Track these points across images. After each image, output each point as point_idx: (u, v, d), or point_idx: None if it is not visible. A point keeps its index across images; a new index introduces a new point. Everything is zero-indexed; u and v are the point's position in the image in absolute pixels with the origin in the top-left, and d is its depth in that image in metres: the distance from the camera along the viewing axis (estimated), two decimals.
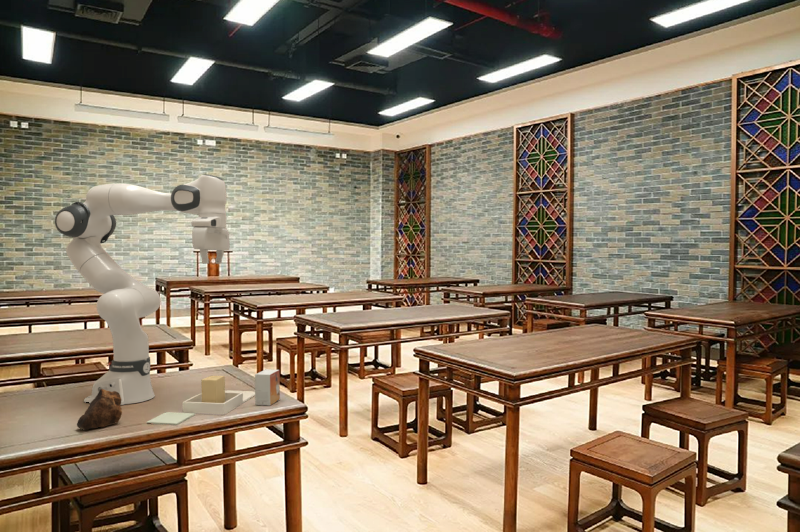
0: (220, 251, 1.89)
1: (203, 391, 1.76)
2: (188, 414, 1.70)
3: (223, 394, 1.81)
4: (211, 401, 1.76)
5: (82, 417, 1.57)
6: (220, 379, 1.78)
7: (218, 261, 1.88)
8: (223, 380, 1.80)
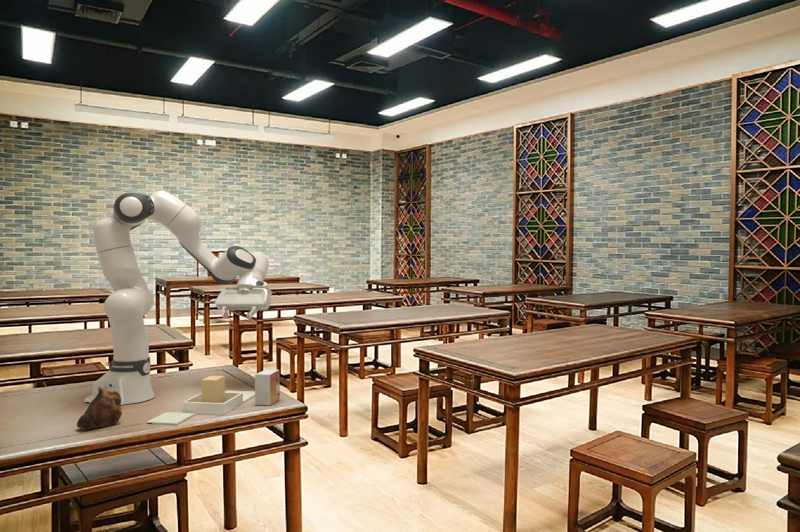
0: (227, 309, 1.99)
1: (203, 391, 1.76)
2: (188, 414, 1.70)
3: (223, 394, 1.81)
4: (211, 401, 1.76)
5: (82, 417, 1.57)
6: (220, 379, 1.78)
7: (227, 316, 1.96)
8: (223, 380, 1.80)
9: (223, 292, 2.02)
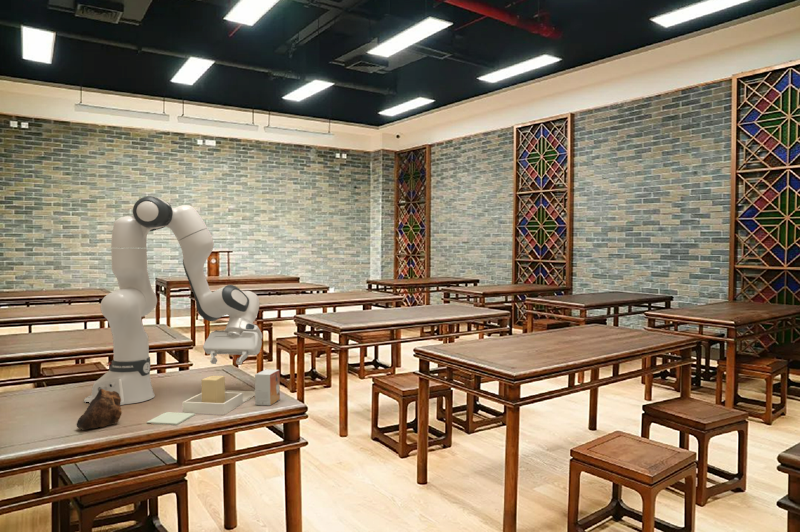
0: (216, 353, 1.91)
1: (203, 391, 1.76)
2: (188, 414, 1.70)
3: (223, 394, 1.81)
4: (211, 401, 1.76)
5: (82, 417, 1.57)
6: (220, 379, 1.78)
7: (215, 361, 1.88)
8: (223, 380, 1.80)
9: (212, 335, 1.94)
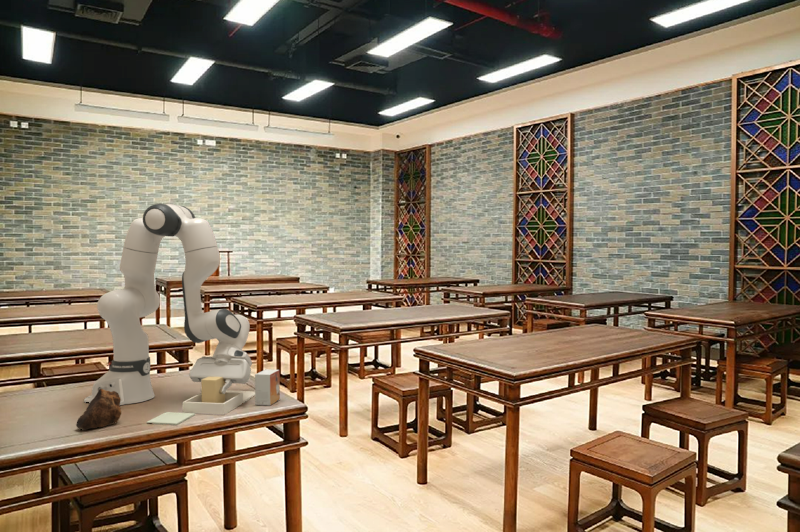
0: None
1: (203, 391, 1.76)
2: (188, 414, 1.70)
3: (223, 394, 1.81)
4: (211, 401, 1.76)
5: (81, 417, 1.57)
6: (220, 379, 1.78)
7: None
8: (223, 380, 1.80)
9: (199, 362, 1.85)
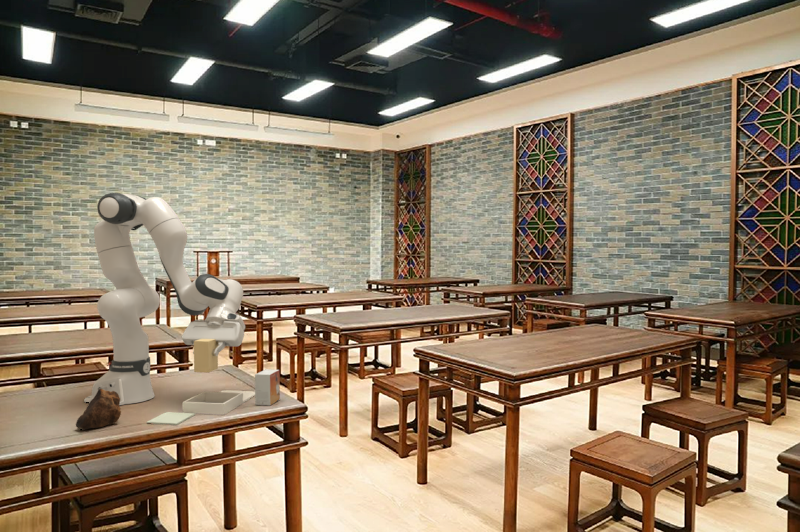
0: None
1: (195, 352, 1.74)
2: (188, 414, 1.70)
3: (216, 357, 1.78)
4: (204, 363, 1.74)
5: (81, 417, 1.57)
6: (213, 341, 1.76)
7: None
8: (216, 343, 1.78)
9: (191, 325, 1.83)
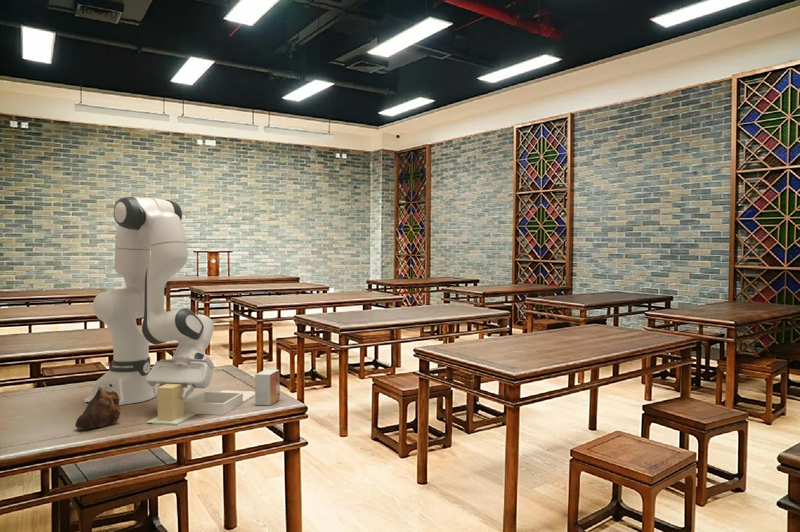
0: None
1: (159, 400, 1.64)
2: (188, 414, 1.70)
3: (182, 403, 1.69)
4: (168, 411, 1.64)
5: (81, 417, 1.57)
6: (178, 387, 1.67)
7: None
8: (182, 388, 1.69)
9: (156, 365, 1.74)
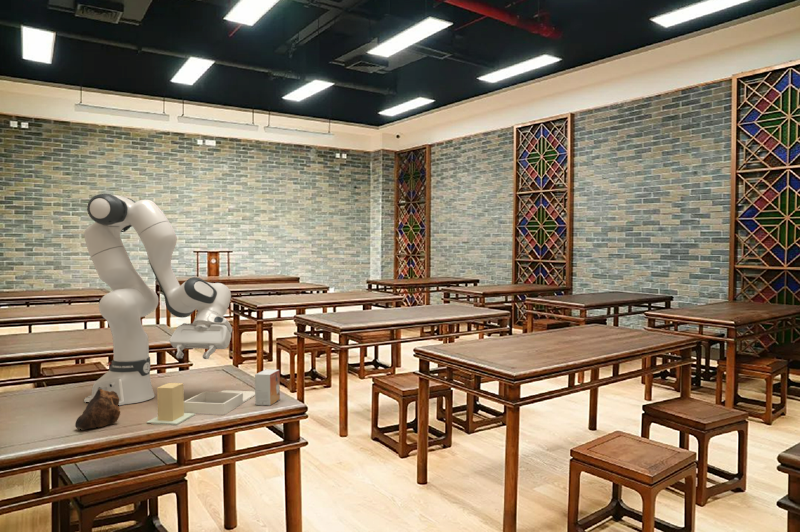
0: (183, 347, 1.83)
1: (159, 400, 1.64)
2: (188, 414, 1.70)
3: (182, 403, 1.69)
4: (168, 411, 1.64)
5: (81, 417, 1.57)
6: (178, 387, 1.67)
7: (182, 356, 1.80)
8: (182, 388, 1.69)
9: (179, 328, 1.86)
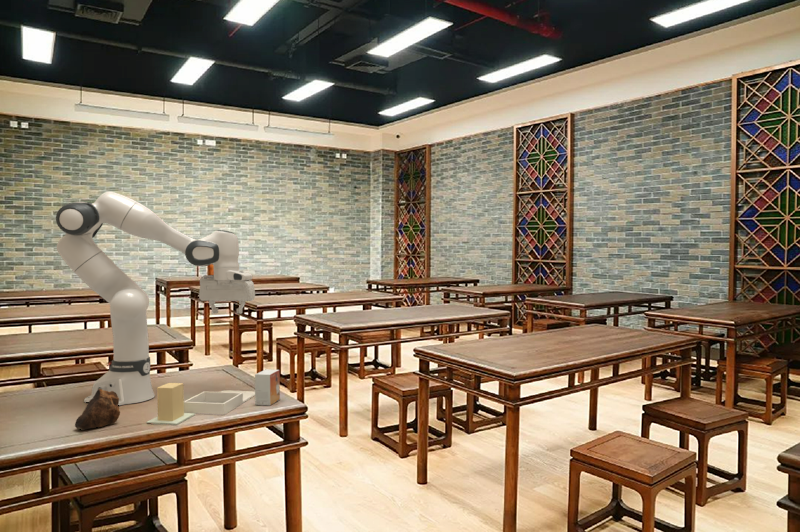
0: (214, 301, 1.98)
1: (159, 400, 1.64)
2: (188, 414, 1.70)
3: (182, 403, 1.69)
4: (168, 411, 1.64)
5: (80, 417, 1.57)
6: (178, 387, 1.67)
7: (217, 311, 1.97)
8: (182, 388, 1.69)
9: (203, 285, 1.96)
